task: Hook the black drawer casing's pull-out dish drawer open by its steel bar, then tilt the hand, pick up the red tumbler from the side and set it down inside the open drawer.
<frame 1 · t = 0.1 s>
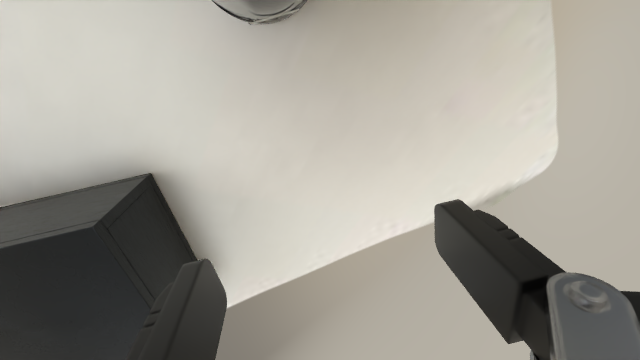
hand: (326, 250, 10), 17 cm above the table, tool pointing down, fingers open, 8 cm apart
black drawer casing: (92, 252, 28), on the table
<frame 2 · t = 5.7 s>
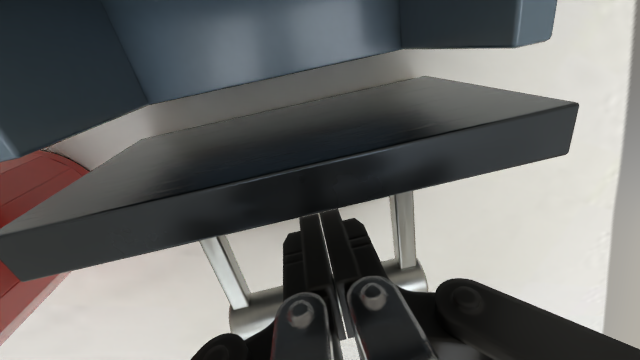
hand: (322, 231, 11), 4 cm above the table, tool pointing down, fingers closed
red tumbler: (50, 202, 13), on the table
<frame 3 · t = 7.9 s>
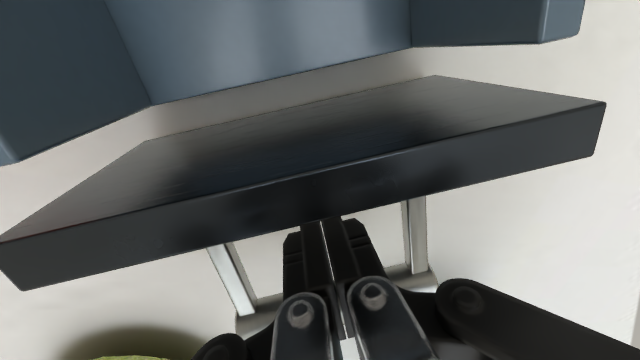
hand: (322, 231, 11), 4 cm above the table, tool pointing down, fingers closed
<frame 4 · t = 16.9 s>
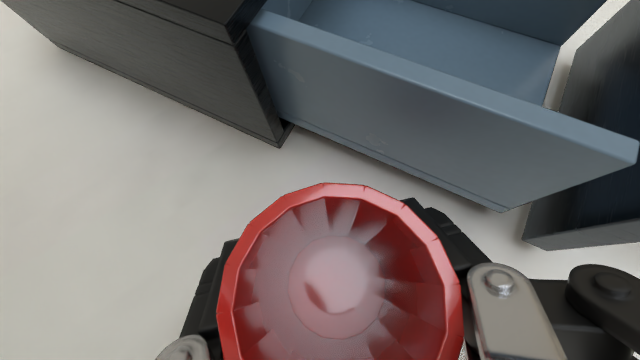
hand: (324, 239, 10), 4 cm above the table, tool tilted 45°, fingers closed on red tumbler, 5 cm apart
black drawer casing: (215, 21, 20), on the table
dish drawer: (498, 58, 12), point 4 cm above the table, slide at 13.1 cm
red tumbler: (335, 284, 14), on the table, touching gripper
when the fingers open (7 cm above the table, at t = 30.1 s): red tumbler drops 1 cm, resting on dish drawer.
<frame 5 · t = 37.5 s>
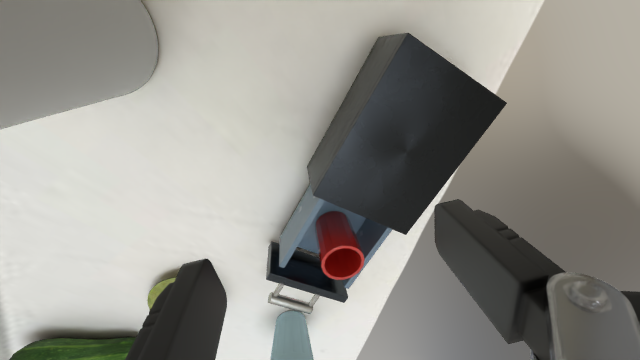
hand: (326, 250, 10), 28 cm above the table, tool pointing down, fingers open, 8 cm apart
vegetable: (97, 340, 48), on the table
black drawer casing: (381, 130, 38), on the table
cylinder vase: (98, 34, 29), on the table
dish drawer: (323, 245, 40), point 4 cm above the table, slide at 13.1 cm, touching red tumbler
mat: (189, 293, 46), on the table
red tumbler: (332, 226, 41), point 2 cm above the table, touching dish drawer
cup: (290, 319, 52), on the table
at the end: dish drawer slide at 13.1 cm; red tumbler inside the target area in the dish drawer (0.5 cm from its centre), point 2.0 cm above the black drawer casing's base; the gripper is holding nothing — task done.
